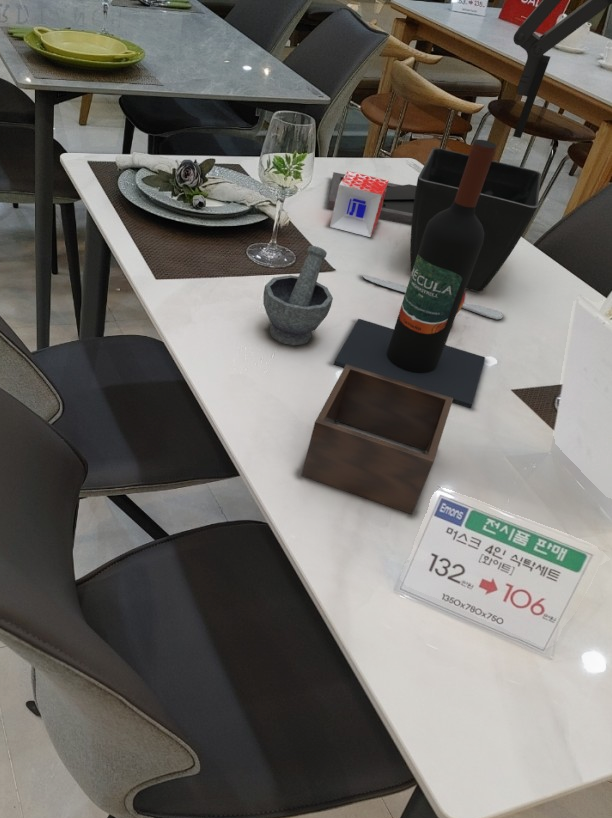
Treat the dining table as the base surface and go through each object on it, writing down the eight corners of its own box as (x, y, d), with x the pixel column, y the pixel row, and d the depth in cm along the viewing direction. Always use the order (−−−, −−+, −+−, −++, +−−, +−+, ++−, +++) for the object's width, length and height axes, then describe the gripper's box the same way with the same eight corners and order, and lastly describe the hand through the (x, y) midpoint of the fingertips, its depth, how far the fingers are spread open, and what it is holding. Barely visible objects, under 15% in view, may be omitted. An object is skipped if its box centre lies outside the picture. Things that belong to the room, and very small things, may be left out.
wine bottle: (448, 367, 111) (530, 153, 91) (408, 377, 108) (484, 157, 88) (415, 341, 116) (486, 131, 95) (376, 349, 113) (441, 134, 92)
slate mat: (483, 360, 115) (485, 357, 115) (470, 408, 106) (472, 404, 105) (357, 321, 119) (358, 318, 119) (333, 364, 109) (334, 360, 109)
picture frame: (429, 198, 161) (331, 179, 162) (432, 188, 160) (333, 170, 160) (432, 228, 150) (327, 208, 150) (436, 218, 148) (329, 198, 149)
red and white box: (377, 222, 148) (388, 180, 143) (370, 237, 143) (381, 194, 137) (337, 212, 150) (347, 170, 144) (329, 226, 144) (338, 184, 139)
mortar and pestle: (307, 359, 109) (325, 281, 101) (248, 337, 112) (261, 260, 103) (333, 326, 117) (352, 252, 109) (277, 307, 119) (291, 232, 111)
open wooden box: (432, 449, 98) (453, 398, 92) (412, 514, 88) (433, 461, 83) (331, 415, 100) (346, 363, 95) (301, 475, 91) (314, 421, 85)
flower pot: (406, 236, 145) (434, 143, 134) (505, 263, 142) (542, 170, 131) (388, 277, 132) (417, 178, 120) (497, 307, 129) (537, 208, 117)
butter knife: (502, 319, 125) (503, 312, 127) (361, 278, 129) (365, 271, 131) (501, 322, 125) (502, 314, 127) (360, 280, 129) (364, 274, 131)
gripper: (877, -109, 59) (720, 172, 74) (553, -165, 64) (466, 110, 78) (901, -104, 54) (727, 197, 68) (547, -167, 58) (455, 129, 73)
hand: (588, 151), depth 73 cm, fingers open, 13 cm apart
